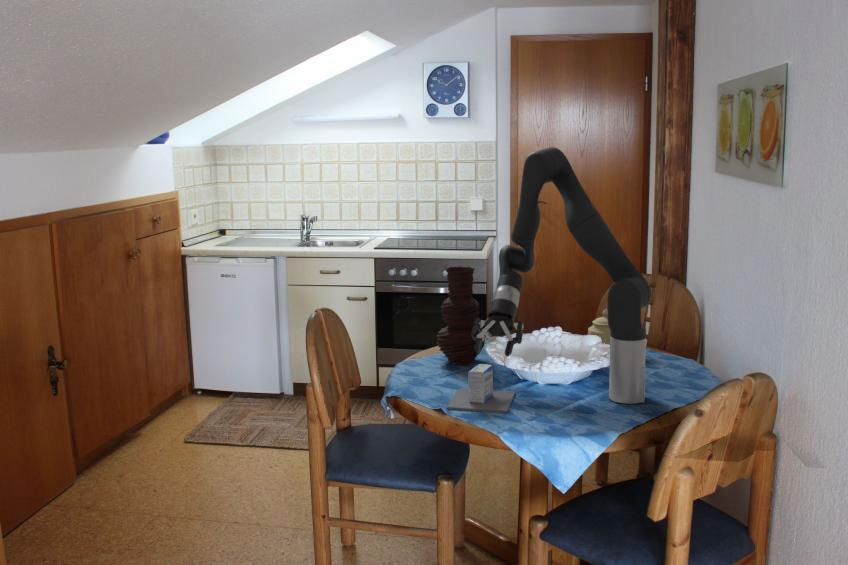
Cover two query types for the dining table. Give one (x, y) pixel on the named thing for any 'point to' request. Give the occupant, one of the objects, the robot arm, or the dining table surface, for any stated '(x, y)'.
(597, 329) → the sugar bowl
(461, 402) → the charcoal mat
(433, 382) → the dining table surface
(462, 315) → the vase
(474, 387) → the medicine box
